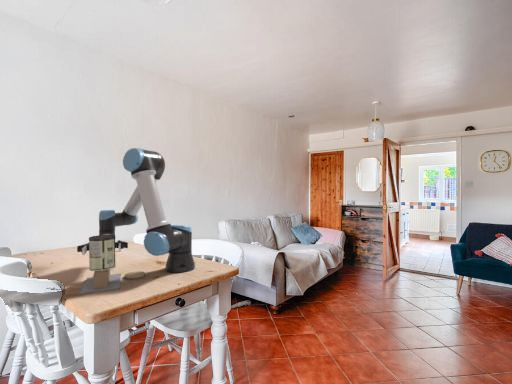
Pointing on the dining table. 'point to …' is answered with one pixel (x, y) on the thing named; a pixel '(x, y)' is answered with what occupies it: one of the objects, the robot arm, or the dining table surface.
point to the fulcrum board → (110, 287)
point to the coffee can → (101, 252)
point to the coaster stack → (135, 275)
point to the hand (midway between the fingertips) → (101, 250)
